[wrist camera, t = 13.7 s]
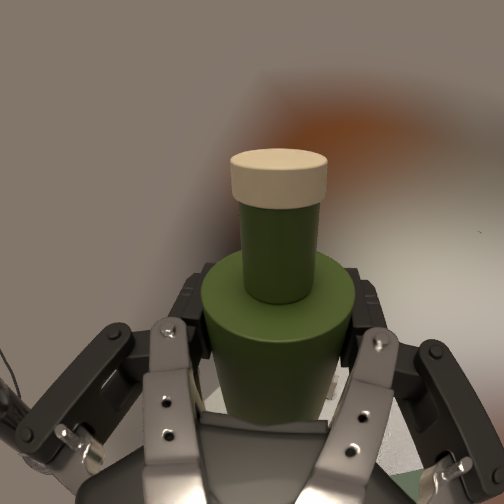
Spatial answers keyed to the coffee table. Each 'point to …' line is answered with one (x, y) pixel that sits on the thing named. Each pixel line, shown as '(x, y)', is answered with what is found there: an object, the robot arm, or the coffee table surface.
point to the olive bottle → (277, 293)
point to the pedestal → (409, 482)
